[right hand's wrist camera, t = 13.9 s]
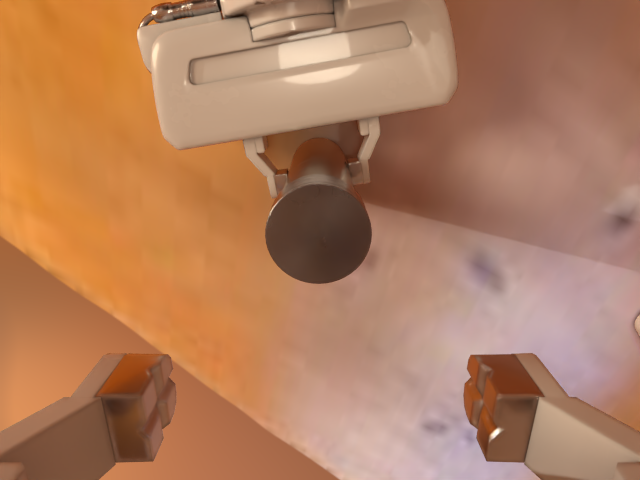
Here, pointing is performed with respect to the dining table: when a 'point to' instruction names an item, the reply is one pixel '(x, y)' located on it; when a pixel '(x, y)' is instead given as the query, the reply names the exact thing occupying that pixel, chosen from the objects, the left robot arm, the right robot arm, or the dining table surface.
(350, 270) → the lid
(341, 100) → the left robot arm
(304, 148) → the brown cylinder
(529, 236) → the dining table surface
